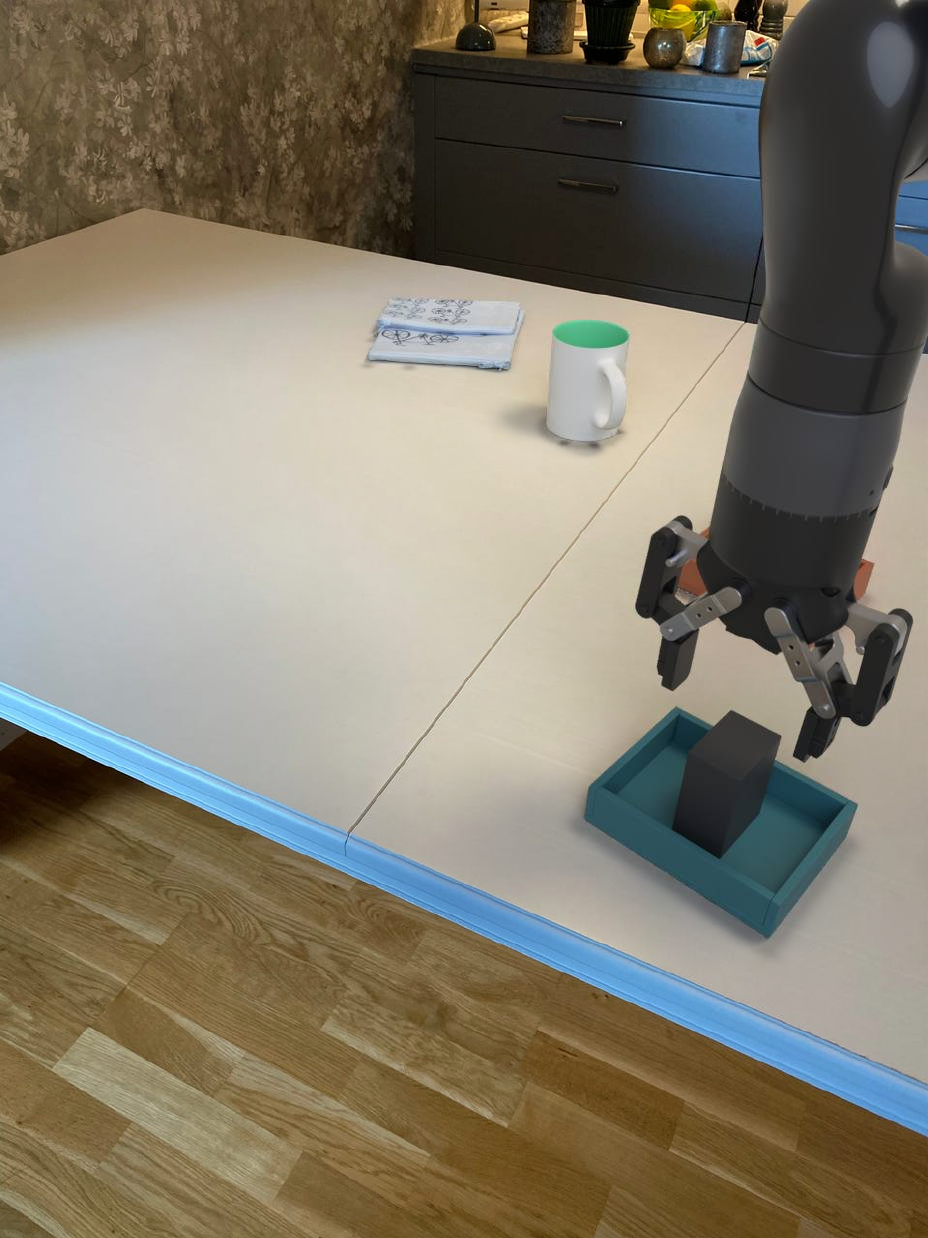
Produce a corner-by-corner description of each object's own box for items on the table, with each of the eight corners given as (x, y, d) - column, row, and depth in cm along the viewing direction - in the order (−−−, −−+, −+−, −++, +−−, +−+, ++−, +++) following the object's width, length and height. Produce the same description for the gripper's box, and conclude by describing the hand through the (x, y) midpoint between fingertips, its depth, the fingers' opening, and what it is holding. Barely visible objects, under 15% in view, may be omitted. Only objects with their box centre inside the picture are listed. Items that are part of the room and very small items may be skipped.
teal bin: (846, 837, 62) (859, 804, 60) (769, 939, 56) (780, 906, 54) (669, 738, 69) (676, 705, 67) (583, 819, 63) (588, 786, 61)
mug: (651, 449, 104) (664, 356, 98) (584, 463, 101) (593, 367, 95) (597, 404, 113) (606, 315, 106) (534, 415, 110) (539, 325, 104)
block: (759, 814, 63) (782, 735, 59) (719, 860, 60) (740, 781, 56) (712, 786, 65) (730, 708, 60) (671, 830, 62) (687, 751, 57)
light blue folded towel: (525, 315, 135) (526, 299, 134) (510, 373, 119) (510, 356, 118) (390, 306, 137) (390, 291, 136) (357, 363, 121) (356, 346, 120)
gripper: (635, 447, 48) (600, 692, 58) (919, 559, 41) (824, 817, 51) (713, 400, 53) (668, 634, 63) (982, 493, 45) (883, 742, 55)
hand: (738, 716), depth 57 cm, fingers open, 8 cm apart
